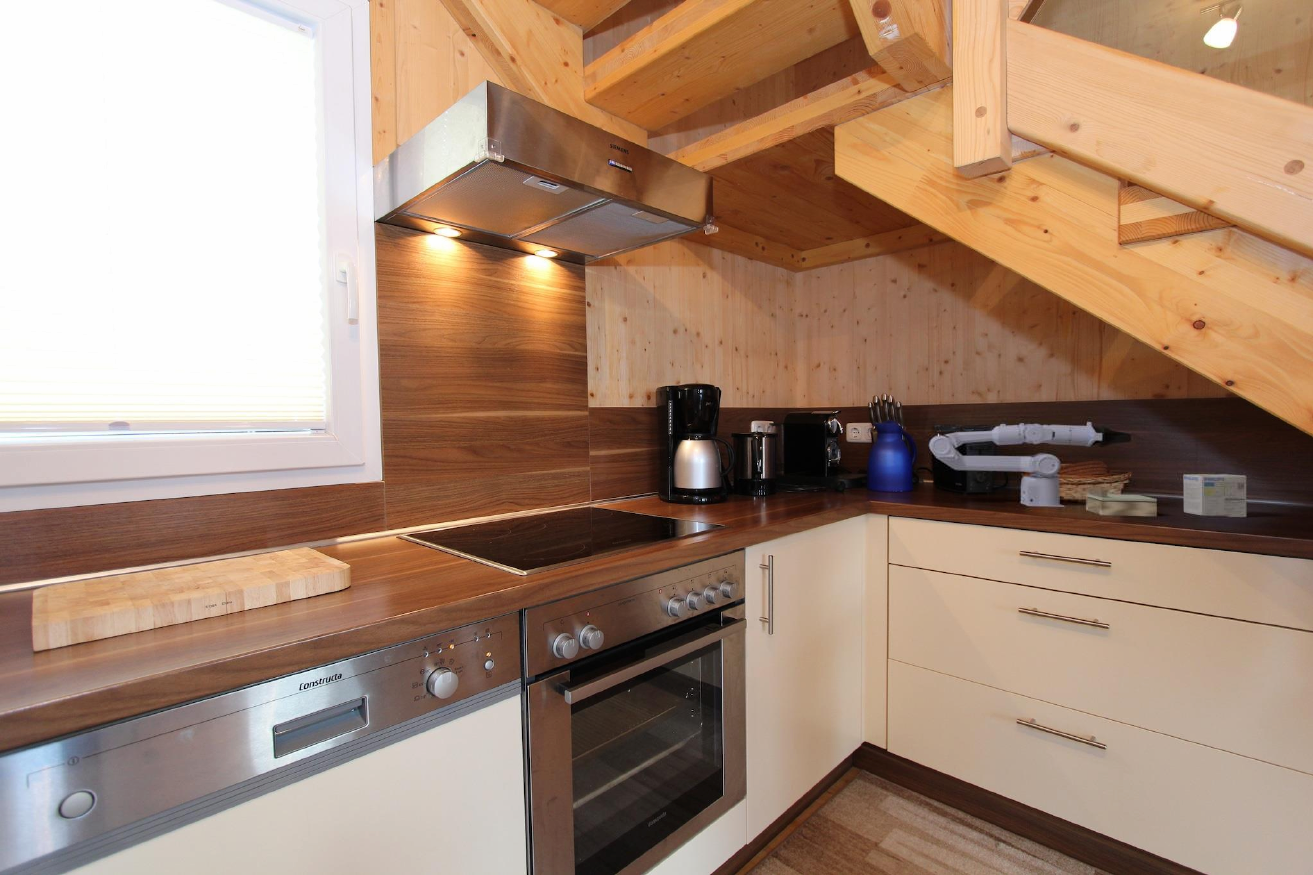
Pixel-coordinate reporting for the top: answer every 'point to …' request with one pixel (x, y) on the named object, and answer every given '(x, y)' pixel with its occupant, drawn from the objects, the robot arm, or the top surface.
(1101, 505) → the pine box
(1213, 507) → the light bulb box
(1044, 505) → the robot arm
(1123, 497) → the lid
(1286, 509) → the top surface
